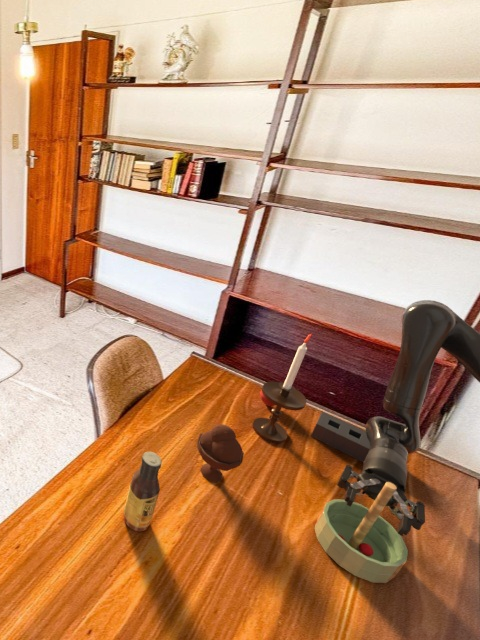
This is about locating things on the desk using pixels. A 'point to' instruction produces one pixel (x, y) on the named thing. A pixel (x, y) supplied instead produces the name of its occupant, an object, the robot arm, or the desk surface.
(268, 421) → the candlestick
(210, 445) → the ice cream bowl
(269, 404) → the onion
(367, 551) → the berry
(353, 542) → the stirring stick
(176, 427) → the desk surface
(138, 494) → the sauce bottle
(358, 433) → the stand
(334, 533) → the bowl
